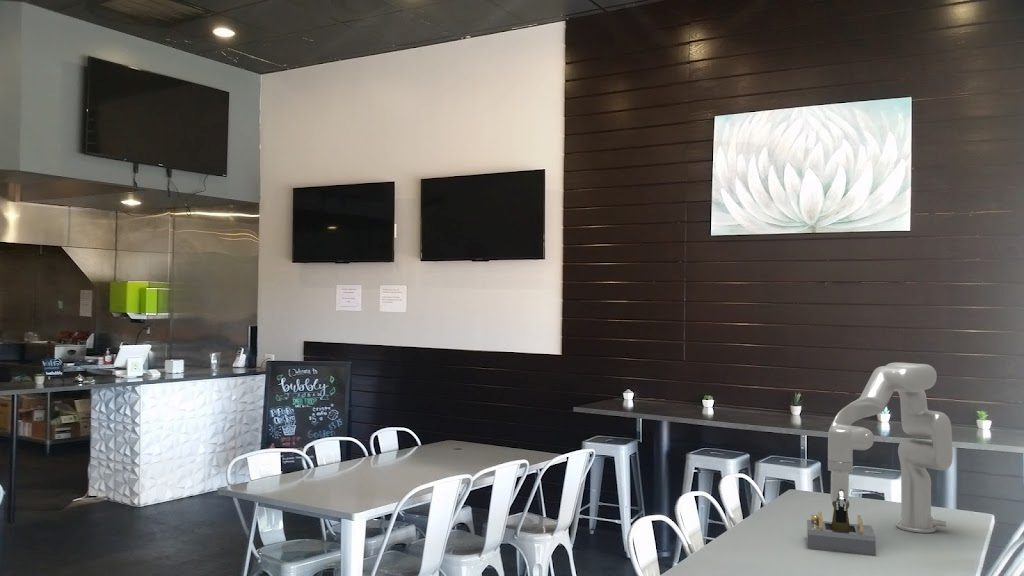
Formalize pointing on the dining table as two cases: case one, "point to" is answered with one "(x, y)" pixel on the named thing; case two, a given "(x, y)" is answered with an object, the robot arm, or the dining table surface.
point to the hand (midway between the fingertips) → (840, 518)
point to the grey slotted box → (840, 537)
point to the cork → (840, 526)
